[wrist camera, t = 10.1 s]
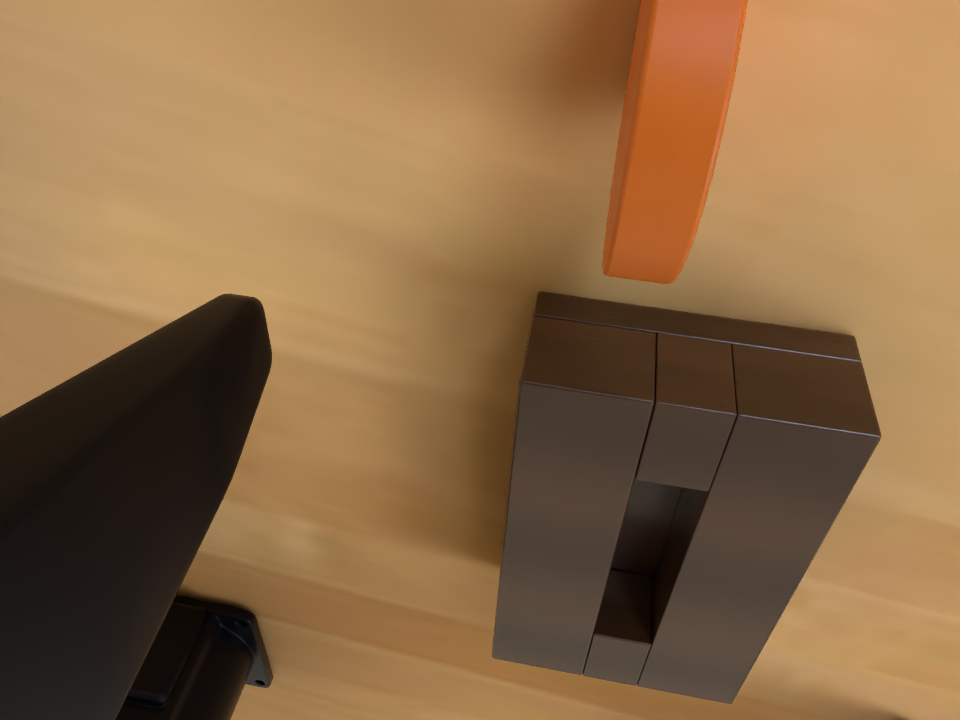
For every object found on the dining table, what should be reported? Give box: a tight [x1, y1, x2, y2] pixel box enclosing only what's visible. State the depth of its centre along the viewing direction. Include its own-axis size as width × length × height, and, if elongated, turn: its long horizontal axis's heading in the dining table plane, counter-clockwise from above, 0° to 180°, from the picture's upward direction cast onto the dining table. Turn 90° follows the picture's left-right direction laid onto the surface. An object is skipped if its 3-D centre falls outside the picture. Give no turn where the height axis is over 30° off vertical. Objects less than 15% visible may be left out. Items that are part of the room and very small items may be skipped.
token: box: [602, 0, 747, 284], centre depth 13 cm, size 6×1×6 cm, turn 178°
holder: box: [492, 292, 881, 704], centre depth 23 cm, size 13×8×4 cm, turn 178°
